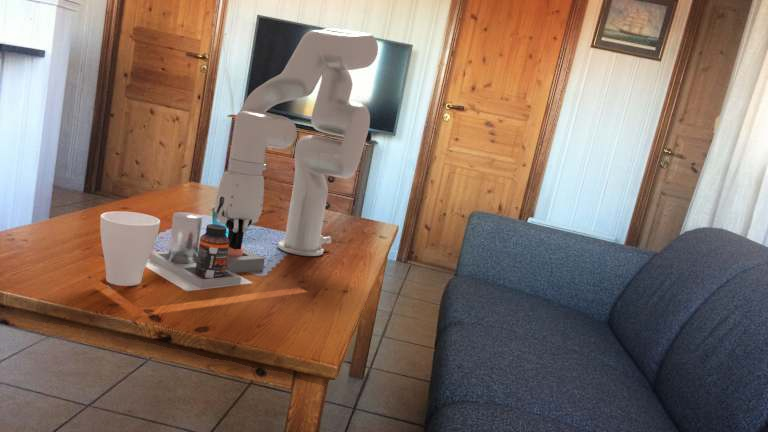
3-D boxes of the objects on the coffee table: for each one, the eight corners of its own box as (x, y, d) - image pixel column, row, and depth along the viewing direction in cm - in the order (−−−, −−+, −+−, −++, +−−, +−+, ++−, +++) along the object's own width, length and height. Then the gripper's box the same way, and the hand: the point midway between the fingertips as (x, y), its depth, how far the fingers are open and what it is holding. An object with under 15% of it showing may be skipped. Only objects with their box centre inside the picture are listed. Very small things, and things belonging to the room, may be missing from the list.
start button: (234, 256, 143) (236, 244, 143) (245, 262, 141) (246, 249, 140) (220, 258, 140) (221, 245, 140) (230, 263, 138) (232, 250, 137)
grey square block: (236, 261, 148) (238, 245, 147) (262, 274, 142) (264, 258, 141) (199, 265, 140) (202, 248, 140) (225, 278, 134) (228, 261, 134)
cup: (115, 299, 112) (123, 227, 109) (81, 281, 117) (88, 212, 114) (163, 290, 120) (172, 223, 118) (129, 274, 126) (137, 210, 123)
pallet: (200, 260, 144) (201, 249, 143) (252, 288, 131) (254, 276, 131) (134, 265, 132) (136, 253, 131) (185, 296, 119) (187, 283, 119)
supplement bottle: (215, 285, 125) (223, 231, 123) (188, 278, 126) (196, 225, 124) (228, 278, 131) (236, 227, 129) (202, 272, 132) (210, 221, 130)
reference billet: (186, 259, 139) (192, 212, 137) (201, 267, 135) (208, 218, 133) (161, 261, 134) (168, 212, 132) (176, 269, 130) (183, 219, 128)
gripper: (262, 166, 145) (250, 241, 148) (207, 163, 134) (195, 244, 137) (282, 173, 140) (270, 250, 143) (227, 170, 129) (215, 254, 132)
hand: (233, 247), depth 140 cm, fingers closed
